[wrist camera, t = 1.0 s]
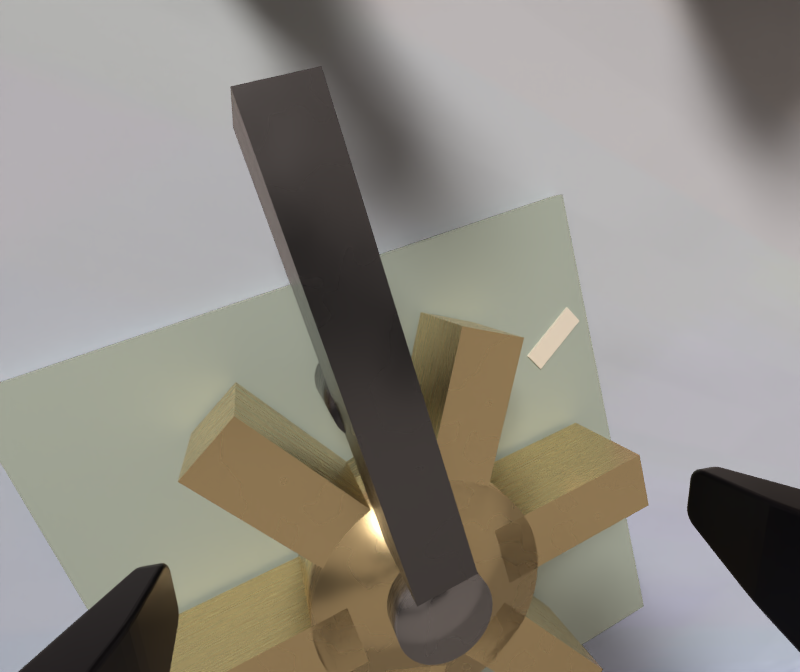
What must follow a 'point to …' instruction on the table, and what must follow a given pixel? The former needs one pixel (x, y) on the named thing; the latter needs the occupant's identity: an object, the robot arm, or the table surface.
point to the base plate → (299, 417)
